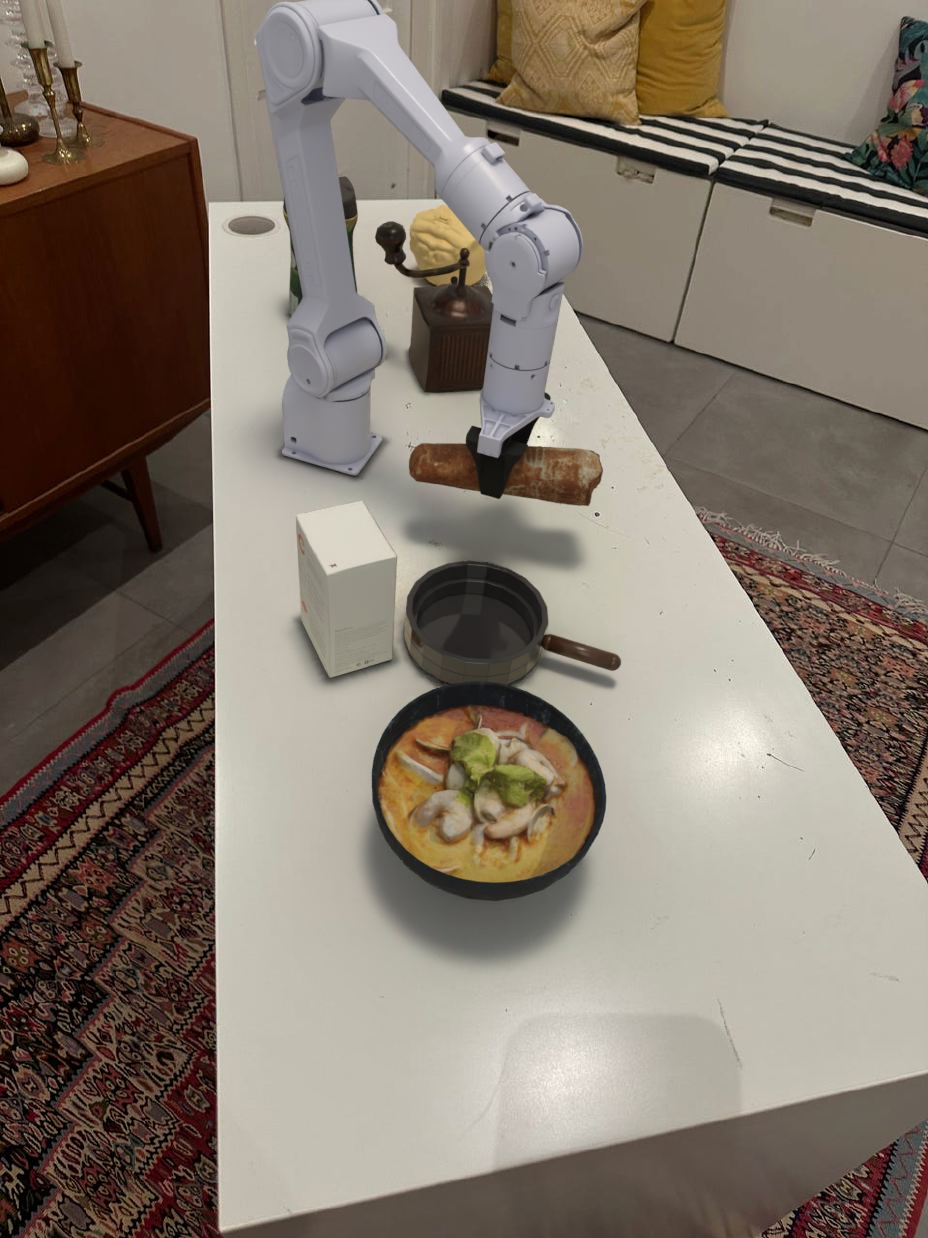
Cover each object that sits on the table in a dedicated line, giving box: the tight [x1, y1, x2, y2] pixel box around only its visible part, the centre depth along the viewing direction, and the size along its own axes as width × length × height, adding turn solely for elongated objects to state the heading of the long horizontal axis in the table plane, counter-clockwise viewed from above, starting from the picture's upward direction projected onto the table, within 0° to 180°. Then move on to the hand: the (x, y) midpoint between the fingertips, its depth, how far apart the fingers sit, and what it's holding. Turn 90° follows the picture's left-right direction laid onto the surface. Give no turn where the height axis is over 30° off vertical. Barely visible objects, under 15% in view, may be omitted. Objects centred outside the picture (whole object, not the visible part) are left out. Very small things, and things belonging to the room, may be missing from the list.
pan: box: [403, 560, 549, 685], centre depth 82 cm, size 13×13×4 cm
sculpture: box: [409, 204, 487, 287], centre depth 131 cm, size 12×12×11 cm
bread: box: [408, 442, 604, 507], centre depth 87 cm, size 6×19×6 cm, turn 83°
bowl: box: [371, 681, 607, 902], centre depth 65 cm, size 17×17×10 cm
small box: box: [295, 500, 398, 678], centre depth 77 cm, size 8×6×13 cm
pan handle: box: [542, 633, 622, 672], centre depth 80 cm, size 8×2×2 cm, turn 71°
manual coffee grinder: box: [374, 220, 494, 393], centre depth 110 cm, size 16×11×18 cm
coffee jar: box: [282, 175, 359, 317], centre depth 116 cm, size 10×8×19 cm
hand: (500, 476), depth 88 cm, fingers closed on bread, 6 cm apart
